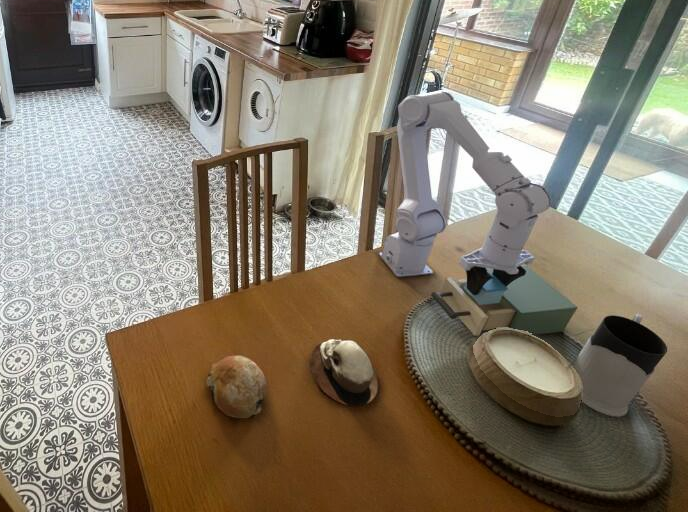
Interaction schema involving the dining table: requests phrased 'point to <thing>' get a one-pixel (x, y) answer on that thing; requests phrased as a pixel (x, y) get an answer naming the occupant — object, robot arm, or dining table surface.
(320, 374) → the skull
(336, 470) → the dining table surface
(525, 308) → the cabinet
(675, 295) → the dining table surface
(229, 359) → the bread roll
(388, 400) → the dining table surface
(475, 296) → the light blue block
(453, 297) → the drawer
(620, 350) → the black and white mug
